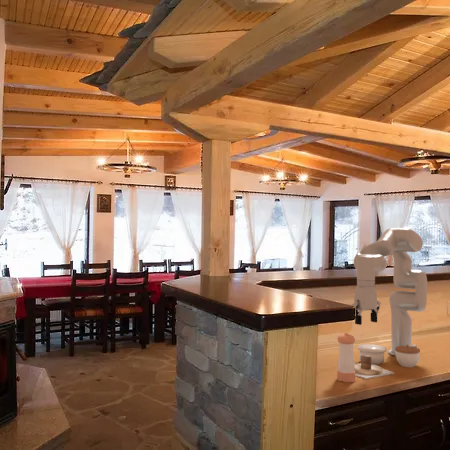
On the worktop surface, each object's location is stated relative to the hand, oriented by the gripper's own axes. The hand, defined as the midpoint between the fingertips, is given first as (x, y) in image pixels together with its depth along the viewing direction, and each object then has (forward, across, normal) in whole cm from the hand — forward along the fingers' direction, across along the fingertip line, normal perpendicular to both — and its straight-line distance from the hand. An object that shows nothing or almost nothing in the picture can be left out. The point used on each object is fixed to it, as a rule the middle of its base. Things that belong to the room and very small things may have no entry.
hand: (366, 323), depth 212 cm
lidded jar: (+22, -24, +2) cm, 33 cm away
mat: (+21, +1, 0) cm, 21 cm away
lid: (+20, 0, 0) cm, 21 cm away
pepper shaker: (+21, +17, +4) cm, 27 cm away
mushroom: (+21, -14, -10) cm, 28 cm away
